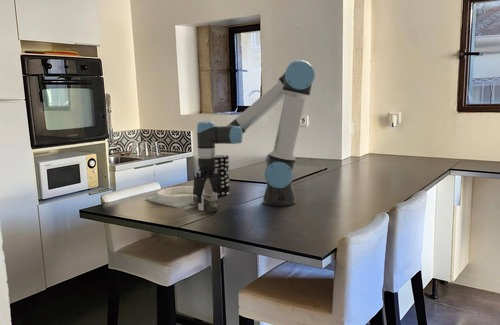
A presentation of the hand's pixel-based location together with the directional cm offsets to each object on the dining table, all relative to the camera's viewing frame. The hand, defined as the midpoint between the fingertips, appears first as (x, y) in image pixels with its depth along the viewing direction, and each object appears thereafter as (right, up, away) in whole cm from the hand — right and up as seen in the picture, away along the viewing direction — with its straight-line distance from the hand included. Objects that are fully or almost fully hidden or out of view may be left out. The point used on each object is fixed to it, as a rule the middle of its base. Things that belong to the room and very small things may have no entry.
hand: (208, 208), depth 203 cm
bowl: (-15, +3, +19) cm, 24 cm away
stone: (0, -1, +1) cm, 1 cm away
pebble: (-6, 0, +7) cm, 10 cm away
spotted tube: (+4, +4, +28) cm, 28 cm away
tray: (-15, +2, +19) cm, 24 cm away
